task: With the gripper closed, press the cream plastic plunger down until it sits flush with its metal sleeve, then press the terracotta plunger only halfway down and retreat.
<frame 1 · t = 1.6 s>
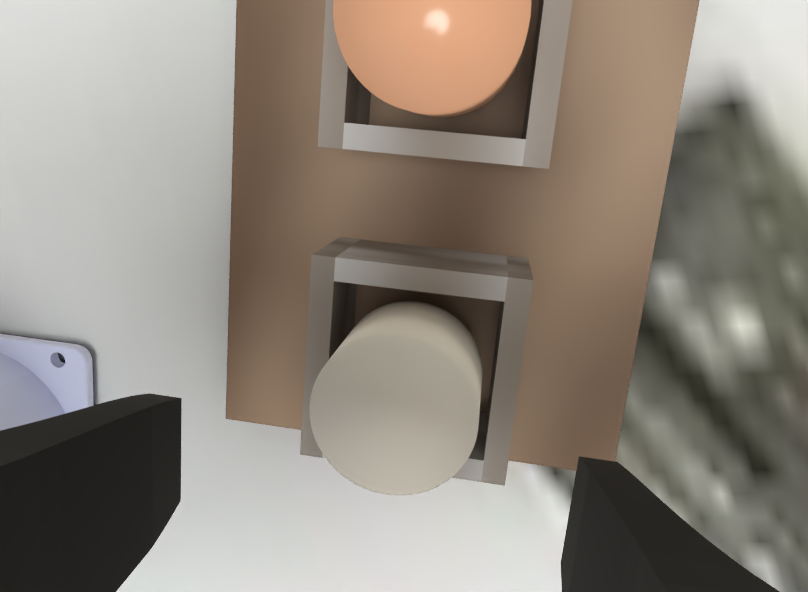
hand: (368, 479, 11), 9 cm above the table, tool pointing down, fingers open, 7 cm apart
panel: (440, 198, 20), on the table
plug cream: (402, 391, 15), point 5 cm above the table, slide at 0.0 cm
plug terracotta: (437, 23, 13), point 5 cm above the table, slide at 0.0 cm
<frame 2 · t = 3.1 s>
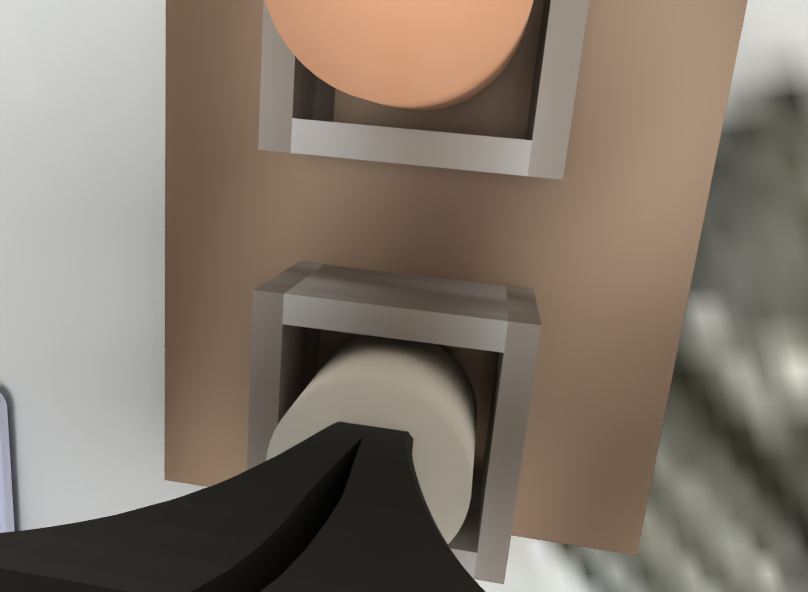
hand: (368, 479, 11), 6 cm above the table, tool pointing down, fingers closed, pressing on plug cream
panel: (424, 213, 16), on the table
plug cream: (381, 442, 13), point 4 cm above the table, slide at 1.3 cm, touching gripper
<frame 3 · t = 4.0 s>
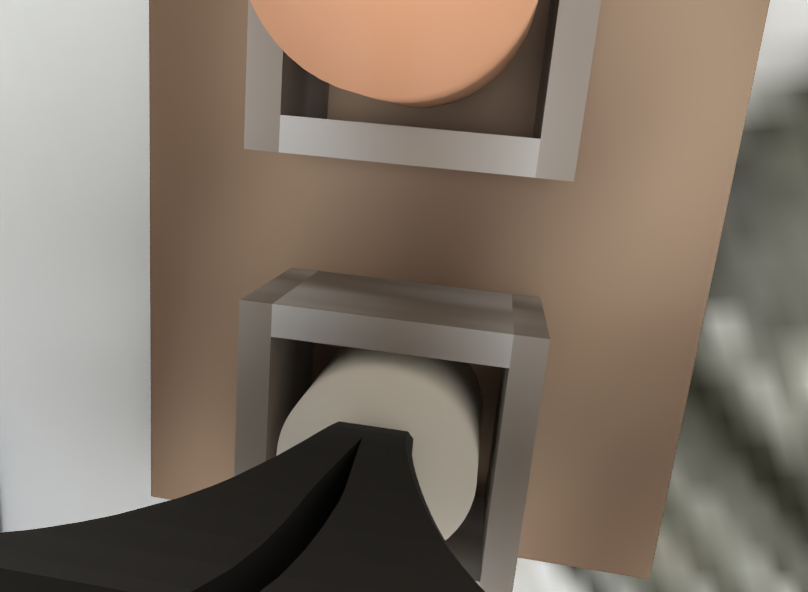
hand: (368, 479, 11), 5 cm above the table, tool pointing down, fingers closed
panel: (424, 216, 15), on the table
plug cream: (388, 433, 13), point 3 cm above the table, slide at 2.5 cm
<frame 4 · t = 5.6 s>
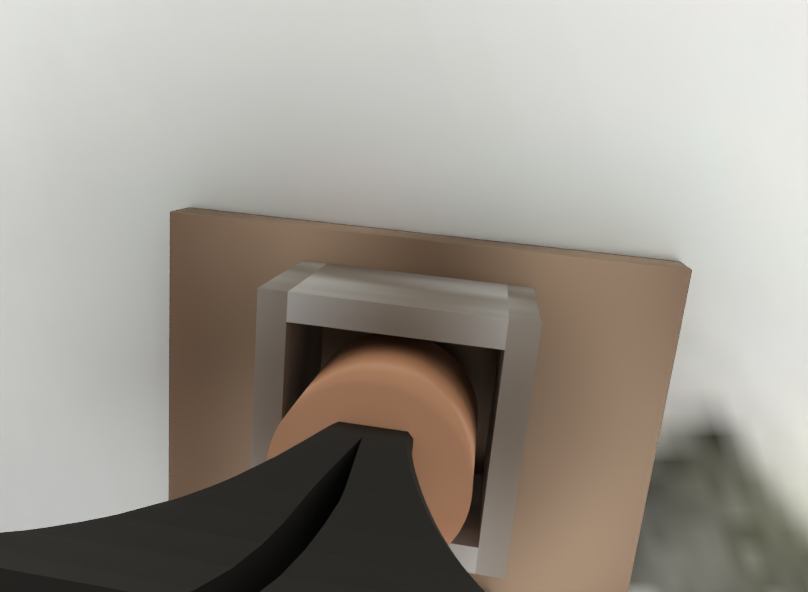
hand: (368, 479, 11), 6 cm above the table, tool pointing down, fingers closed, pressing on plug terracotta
panel: (397, 508, 18), on the table
plug terracotta: (382, 442, 13), point 4 cm above the table, slide at 1.1 cm, touching gripper
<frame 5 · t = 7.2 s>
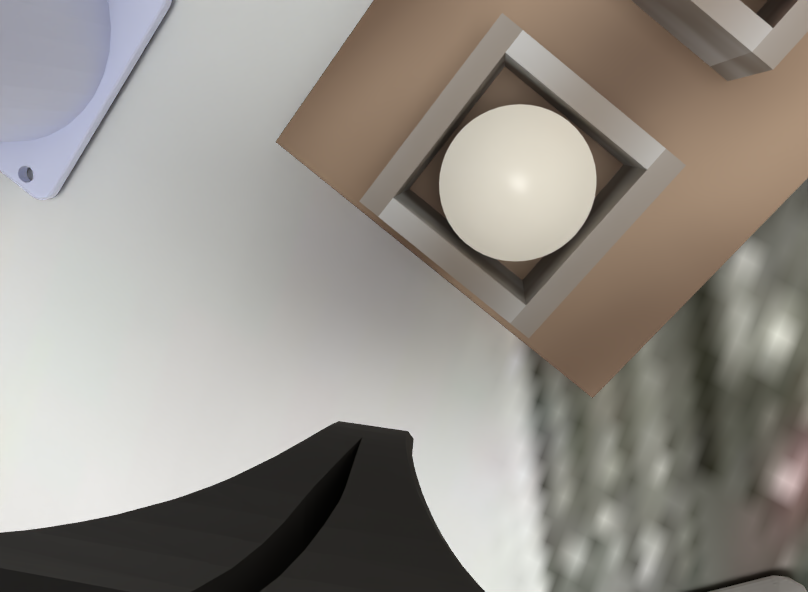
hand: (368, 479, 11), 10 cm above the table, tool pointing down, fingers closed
panel: (607, 61, 18), on the table
plug cream: (515, 180, 17), point 3 cm above the table, slide at 2.5 cm
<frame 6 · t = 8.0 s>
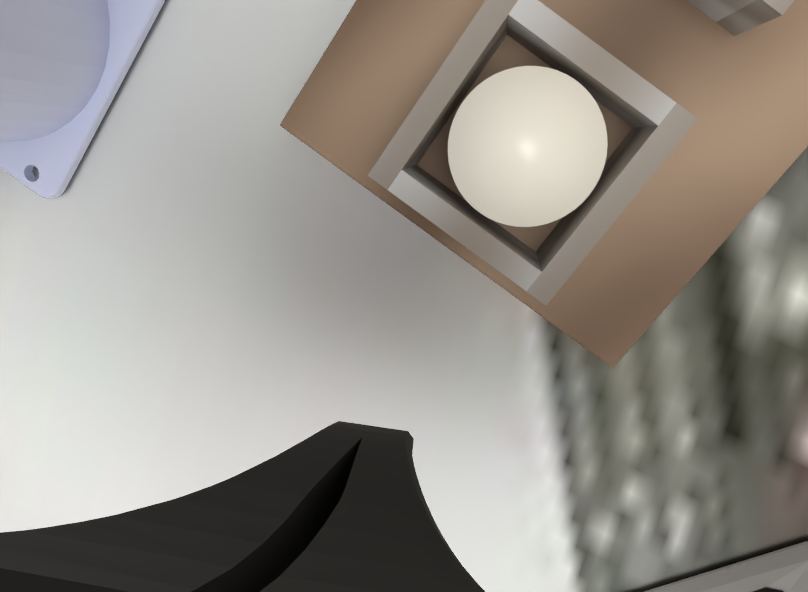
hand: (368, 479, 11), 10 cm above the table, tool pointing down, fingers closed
panel: (610, 24, 18), on the table
plug cream: (524, 147, 17), point 3 cm above the table, slide at 2.5 cm
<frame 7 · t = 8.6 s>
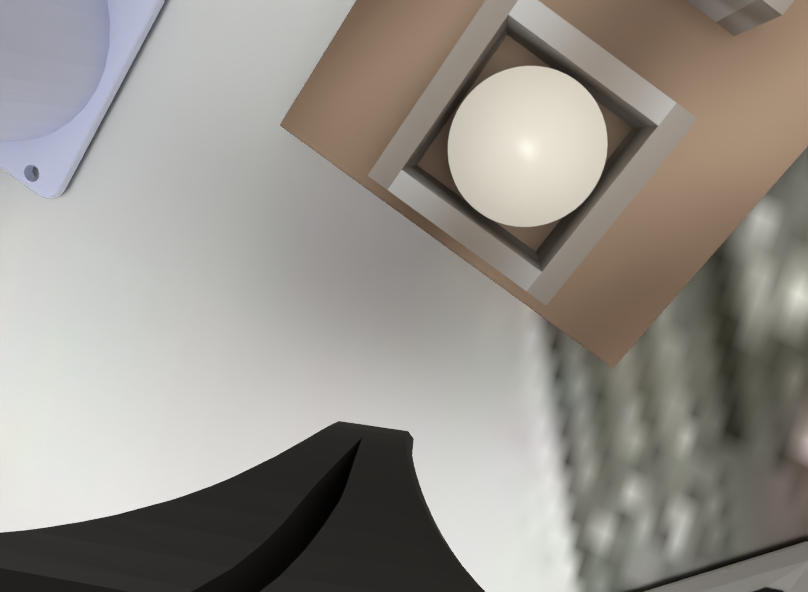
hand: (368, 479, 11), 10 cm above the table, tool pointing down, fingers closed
panel: (610, 24, 18), on the table
plug cream: (524, 147, 17), point 3 cm above the table, slide at 2.5 cm
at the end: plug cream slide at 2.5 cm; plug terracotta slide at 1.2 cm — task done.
